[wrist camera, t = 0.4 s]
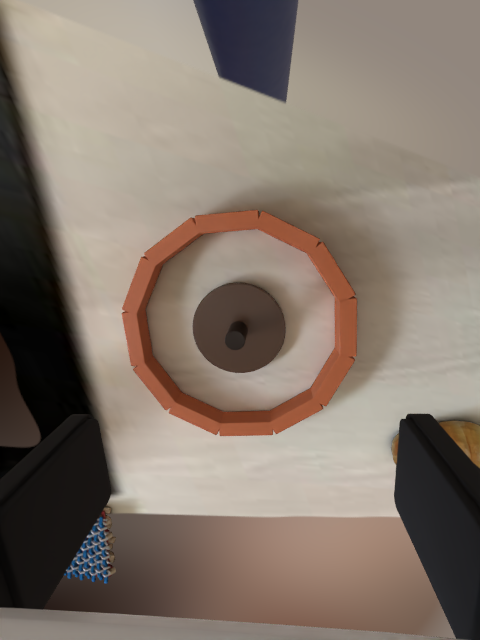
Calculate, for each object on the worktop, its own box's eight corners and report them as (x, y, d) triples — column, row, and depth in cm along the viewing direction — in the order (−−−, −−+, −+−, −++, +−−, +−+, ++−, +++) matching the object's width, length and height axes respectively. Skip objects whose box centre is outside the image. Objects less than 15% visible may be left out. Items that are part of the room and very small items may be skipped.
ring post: (189, 285, 31) (177, 293, 27) (282, 279, 30) (284, 286, 26) (199, 371, 34) (190, 389, 30) (287, 367, 33) (289, 386, 29)
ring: (116, 224, 30) (105, 224, 28) (351, 202, 28) (358, 200, 26) (151, 425, 36) (143, 437, 34) (350, 421, 33) (355, 433, 31)
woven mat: (113, 503, 39) (105, 517, 37) (119, 569, 42) (111, 586, 40) (32, 494, 40) (20, 507, 38) (43, 559, 43) (32, 575, 41)
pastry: (386, 471, 35) (399, 499, 31) (391, 415, 33) (406, 437, 29) (479, 474, 34) (504, 503, 30) (489, 416, 32) (517, 440, 28)
